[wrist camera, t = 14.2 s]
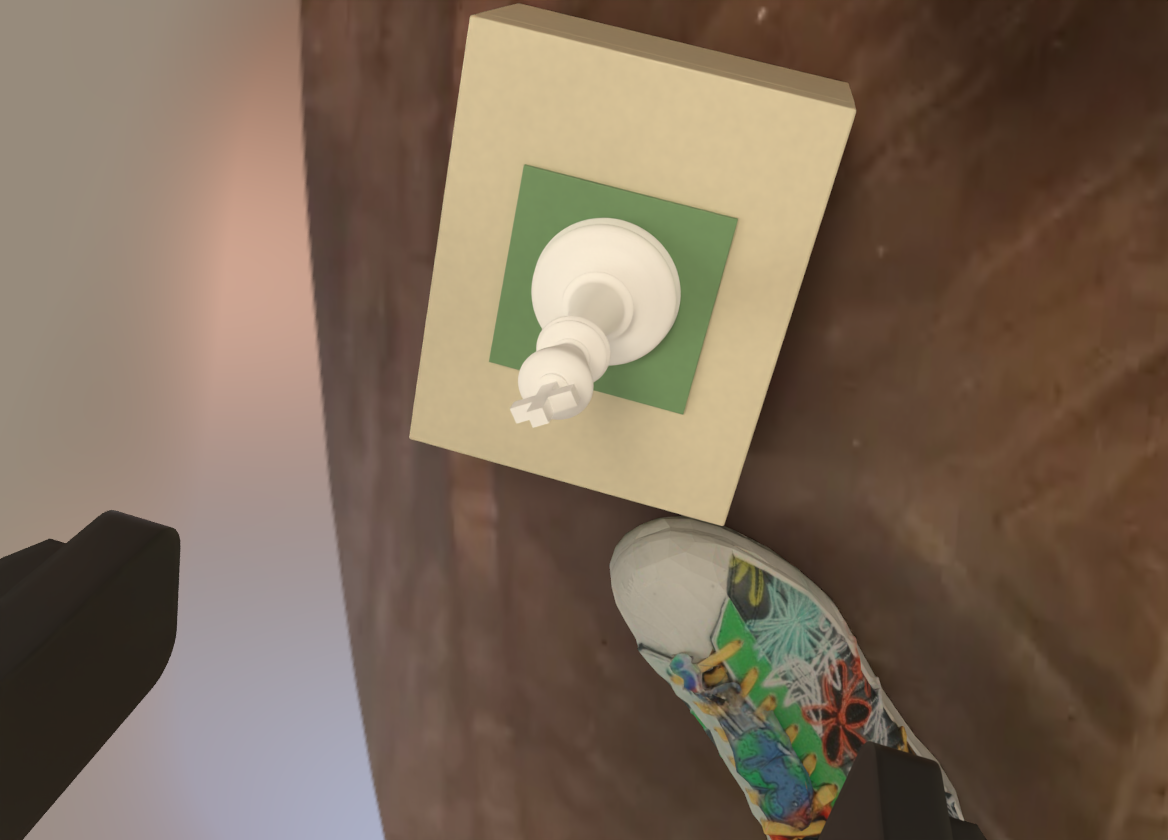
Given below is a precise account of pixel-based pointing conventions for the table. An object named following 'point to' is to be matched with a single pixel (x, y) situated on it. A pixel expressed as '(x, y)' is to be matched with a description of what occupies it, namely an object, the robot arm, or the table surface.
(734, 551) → the sneaker
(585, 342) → the chess piece
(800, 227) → the box with green top
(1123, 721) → the table surface
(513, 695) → the table surface
